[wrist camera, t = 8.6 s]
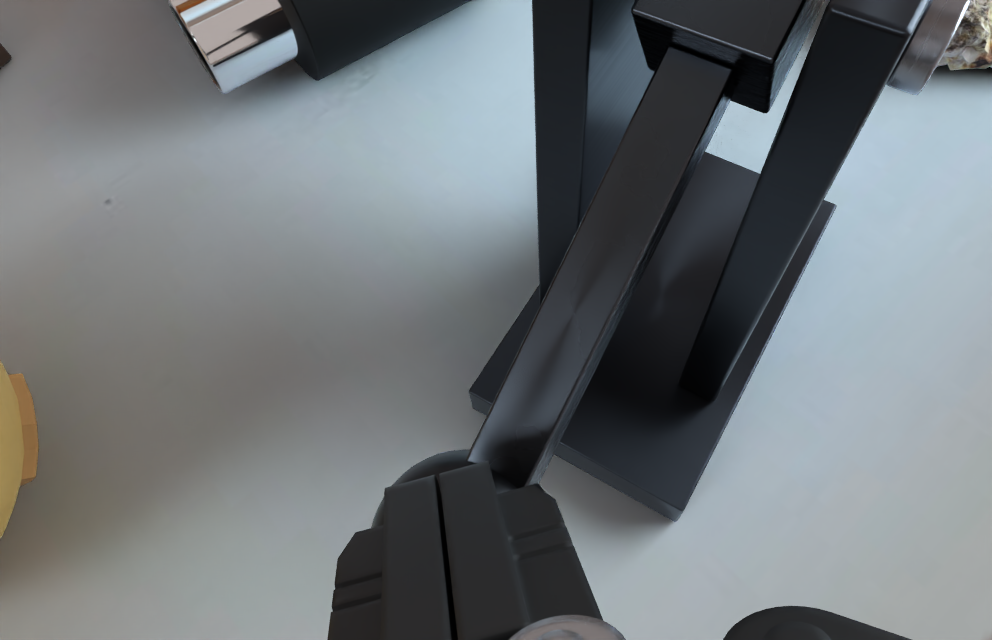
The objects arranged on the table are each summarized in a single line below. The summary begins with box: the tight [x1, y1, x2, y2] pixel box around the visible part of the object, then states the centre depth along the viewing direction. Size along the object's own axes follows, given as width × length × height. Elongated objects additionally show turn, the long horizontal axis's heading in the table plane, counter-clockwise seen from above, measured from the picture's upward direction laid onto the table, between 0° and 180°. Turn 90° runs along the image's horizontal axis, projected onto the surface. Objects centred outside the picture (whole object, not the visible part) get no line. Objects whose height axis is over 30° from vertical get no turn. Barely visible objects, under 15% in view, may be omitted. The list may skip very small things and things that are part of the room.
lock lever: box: [371, 0, 825, 528], centre depth 12 cm, size 13×3×3 cm, turn 148°
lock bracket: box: [469, 0, 970, 522], centre depth 16 cm, size 10×6×13 cm, turn 148°
